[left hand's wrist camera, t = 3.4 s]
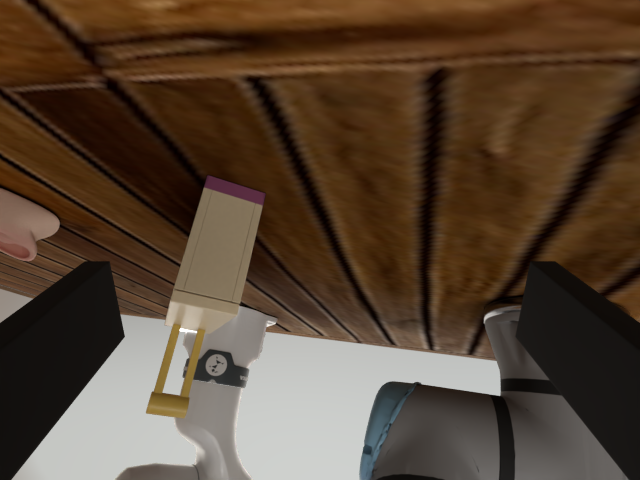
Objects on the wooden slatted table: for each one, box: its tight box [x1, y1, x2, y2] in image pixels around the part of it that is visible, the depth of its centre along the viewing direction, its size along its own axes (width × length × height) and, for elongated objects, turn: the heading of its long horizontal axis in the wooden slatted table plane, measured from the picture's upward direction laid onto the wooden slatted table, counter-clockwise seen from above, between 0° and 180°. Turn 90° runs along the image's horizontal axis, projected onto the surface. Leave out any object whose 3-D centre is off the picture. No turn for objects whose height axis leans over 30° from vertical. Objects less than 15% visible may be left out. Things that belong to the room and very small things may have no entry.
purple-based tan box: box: [174, 175, 266, 304], centre depth 35 cm, size 14×4×9 cm, turn 158°
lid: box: [146, 290, 239, 418], centre depth 32 cm, size 15×4×9 cm, turn 158°
